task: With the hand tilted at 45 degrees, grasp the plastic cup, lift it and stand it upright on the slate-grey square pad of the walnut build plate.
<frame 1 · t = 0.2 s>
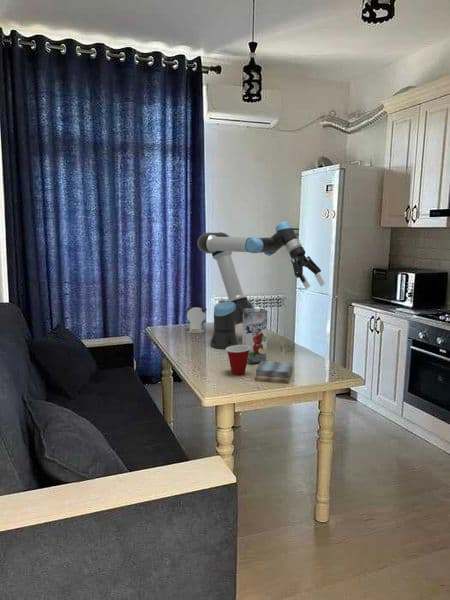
hand: (315, 286, 225), 36 cm above the table, tool tilted 35°, fingers open, 13 cm apart
white rounded piece: (196, 331, 287), on the table
juice carton: (254, 362, 223), on the table
build plate: (274, 375, 203), on the table
plastic cup: (237, 374, 204), on the table
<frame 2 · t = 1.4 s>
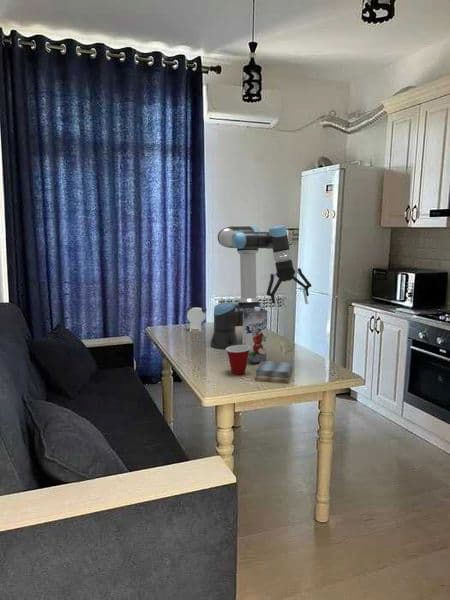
hand: (292, 306, 208), 29 cm above the table, tool pointing down, fingers open, 13 cm apart
nothing on the table moved.
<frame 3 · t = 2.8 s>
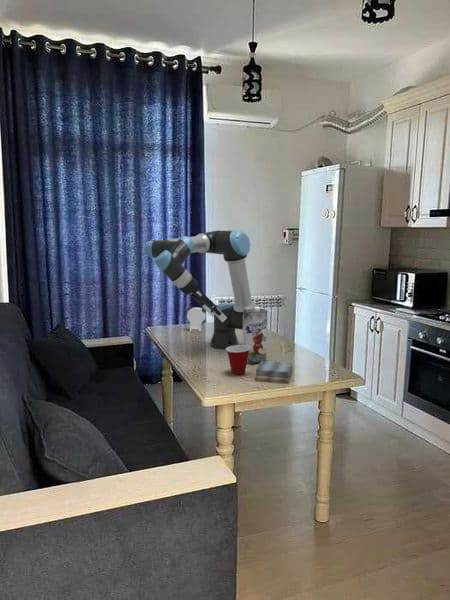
hand: (219, 317, 197), 26 cm above the table, tool tilted 45°, fingers open, 13 cm apart
nothing on the table moved.
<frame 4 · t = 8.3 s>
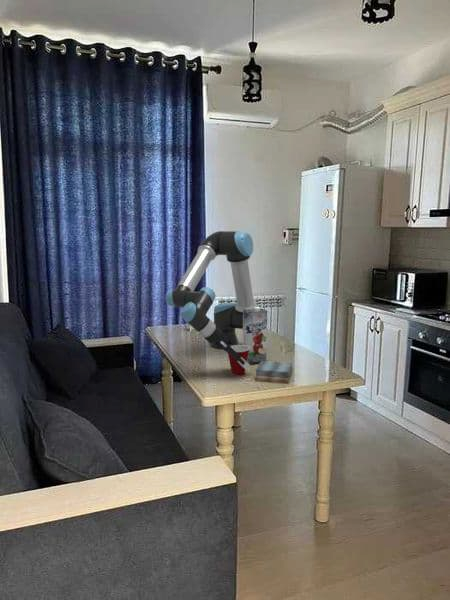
hand: (244, 364, 205), 4 cm above the table, tool tilted 45°, fingers closed on plastic cup, 9 cm apart
plastic cup: (237, 374, 204), on the table, touching gripper
everything else where it was.
when the fingers open (9 cm above the table, at t = 14.3 s): plastic cup moves 3 cm, point 4 cm above the table.
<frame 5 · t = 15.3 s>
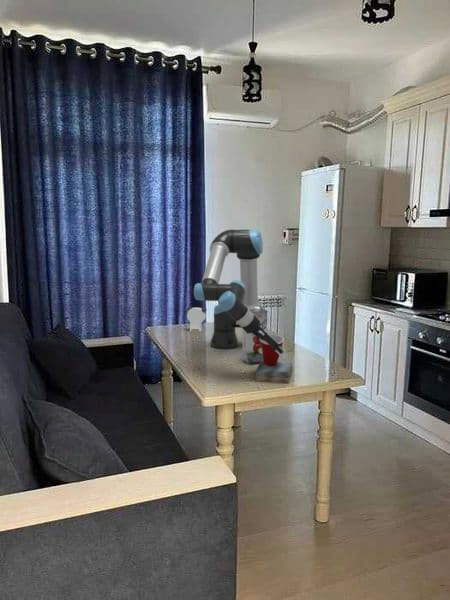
hand: (279, 353, 202), 10 cm above the table, tool tilted 45°, fingers open, 13 cm apart
plastic cup: (269, 363, 205), point 4 cm above the table, touching gripper
everything else where it was.
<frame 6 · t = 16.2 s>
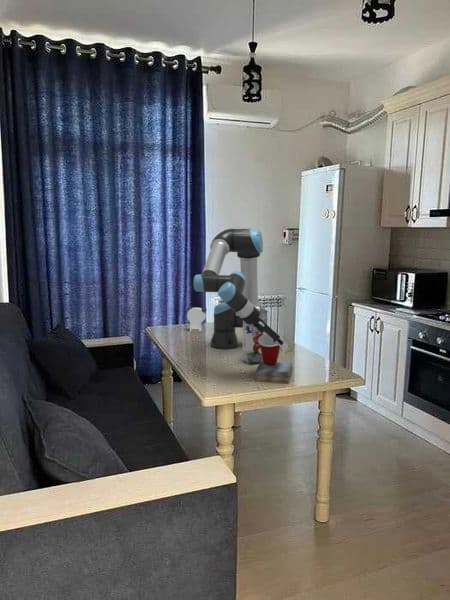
hand: (280, 344, 201), 14 cm above the table, tool tilted 45°, fingers open, 13 cm apart
plastic cup: (269, 362, 205), point 5 cm above the table, touching build plate, gripper
everything else where it was.
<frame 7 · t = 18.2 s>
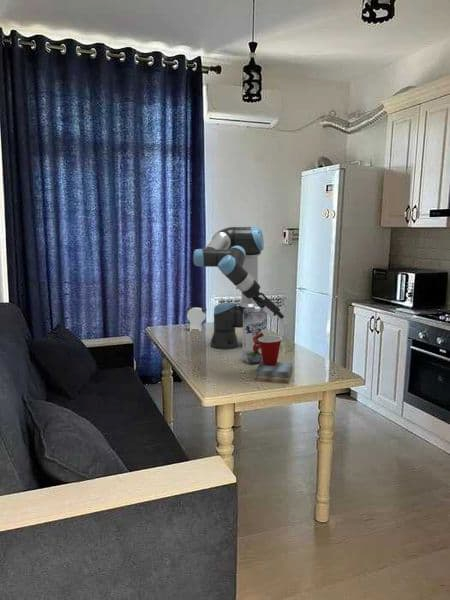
hand: (280, 319, 199), 25 cm above the table, tool tilted 45°, fingers open, 13 cm apart
plastic cup: (269, 364, 205), point 4 cm above the table, touching build plate
everything else where it was.
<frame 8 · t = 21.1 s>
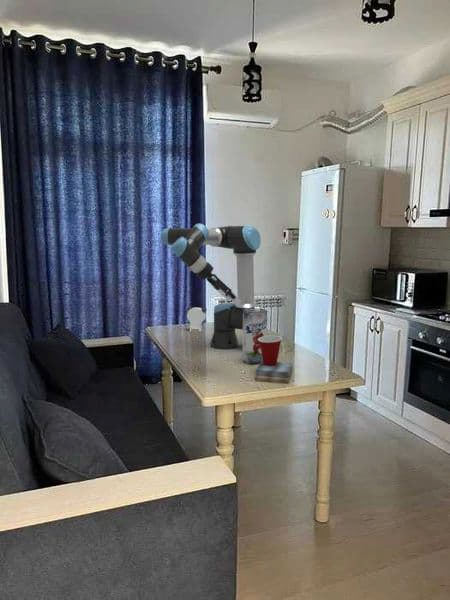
hand: (234, 300, 205), 32 cm above the table, tool tilted 45°, fingers open, 13 cm apart
nothing on the table moved.
at the end: plastic cup inside the target area on the build plate (3.9 cm from its centre), point 3.8 cm above the build plate's base; plastic cup tilted 0°; the gripper is holding nothing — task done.
